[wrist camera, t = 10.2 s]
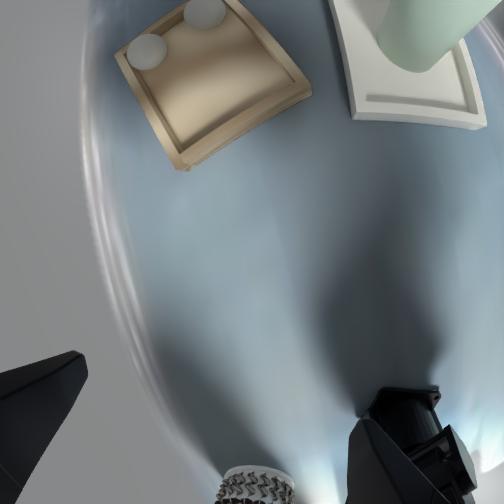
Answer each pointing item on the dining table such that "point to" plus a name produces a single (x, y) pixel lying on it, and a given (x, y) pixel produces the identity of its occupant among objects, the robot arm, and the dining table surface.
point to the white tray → (402, 75)
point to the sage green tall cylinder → (427, 29)
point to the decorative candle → (256, 486)
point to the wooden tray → (213, 83)
